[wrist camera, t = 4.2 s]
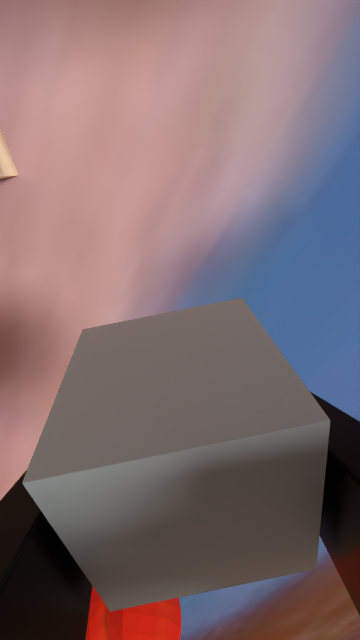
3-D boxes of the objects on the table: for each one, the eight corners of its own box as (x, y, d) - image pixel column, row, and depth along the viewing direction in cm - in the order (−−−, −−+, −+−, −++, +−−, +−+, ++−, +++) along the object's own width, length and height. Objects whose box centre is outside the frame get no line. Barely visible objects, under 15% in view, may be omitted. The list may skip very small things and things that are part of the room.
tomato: (73, 602, 38) (55, 710, 30) (70, 550, 33) (47, 666, 25) (171, 596, 40) (176, 696, 32) (184, 545, 34) (194, 652, 27)
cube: (241, 297, 8) (330, 420, 4) (251, 414, 10) (315, 568, 6) (82, 329, 8) (21, 483, 4) (124, 439, 10) (110, 611, 6)
